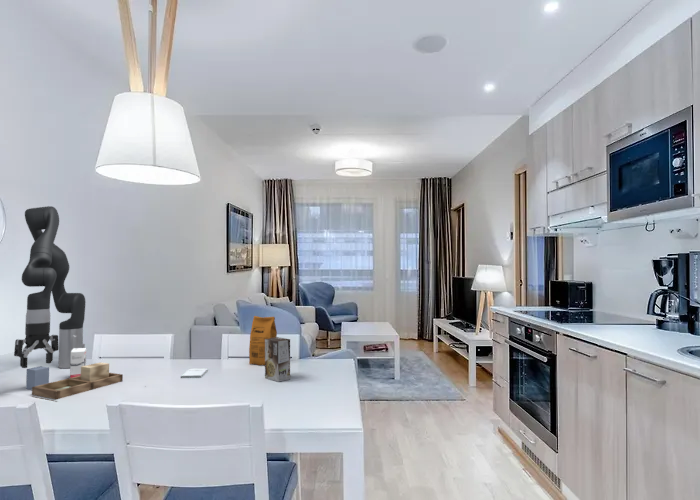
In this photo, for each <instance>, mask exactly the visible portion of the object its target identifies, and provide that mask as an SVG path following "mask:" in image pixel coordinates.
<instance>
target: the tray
mask: <svg viewBox="0 0 700 500" xmlns="http://www.w3.org/2000/svg"><path fill="white" fill-rule="evenodd" d="M123 376H124V375H123V374H121V373H115V372H109V377H108V378H104V379H100V380H96V381H92V382H90V381H84V380H81V376H77V377H72V378H70V377H68V378H65V379H61V380H55V381H51V382H49V383H47V384H43V385H39V386H35V387H32V390H31V395H32V396H31V398H36V399H41V400H47V401H50V402H51V401H52V402H56V403H57V402H58V400H59V399H63V398H67V397H71V396H74V395H78V394H82V393H85V392H89V391H93V390H96V389H100V388H103V387H107V386H110V385H114V384H117V383H122V382H123V378H124V377H123ZM52 399H54V400H52Z"/></svg>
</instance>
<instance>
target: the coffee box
mask: <svg viewBox="0 0 700 500" xmlns="http://www.w3.org/2000/svg"><path fill="white" fill-rule="evenodd" d="M264 378H265V379H267V380H270V381H275V382H277V383H279V382H283V381H287V380H290V379H291V339H289V338H285V337H278V336H277V337H274V338H269V339H265V365H264Z"/></svg>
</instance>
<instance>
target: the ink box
mask: <svg viewBox="0 0 700 500" xmlns="http://www.w3.org/2000/svg"><path fill="white" fill-rule="evenodd" d="M86 365H87V347H85V348H73V349H72V351H71V356H70V368H69V369H70V370H69V371H70V373H69V374H70V375H69V378H72V377H77V376H81V367H82V366H86Z"/></svg>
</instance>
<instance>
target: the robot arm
mask: <svg viewBox="0 0 700 500" xmlns="http://www.w3.org/2000/svg"><path fill="white" fill-rule="evenodd" d="M24 220H25V222H26V225H27V227H28V230H29V231H30V234H31V236H32V238H33V240H34V242H33V243H32V245H31V248H30V250H29V251H30V253H29V259H28V263H27V265H26V267H25V268H24V270H23V272H22V274H21V282H22V283H23V285H24V286H25V287H31V288H35V287H44V289H43V290H41V291H38V292H33V293H30V294H28V295H27V296H26V297H27V299H26V314H25V332H24V334H25V337H24V339H19V338H18V339H16V340H15V342H14V353H13V356H14V357H17V358H20V359H19V361H20V363H19V366H20V367H21V368H22V369H28V356H29V354H30V353H32V351H33V350H35V351H36V350H39V349H40V350H41V349H43V350H44V351H45V352H46V353H45V363H46V364H51V363H52V362H53V360H54V359H53V357H54V353H55V352H56V351H58V367H57V368H59V369H70V356H71V351H72V349H73V348H86V344H85V343H83V342H84V341H83V340H84V335H83V334H84V323H85V316H86V315H85V313H86V296H85V295H84V294H83V293H82V292H67V291H66V289H65V281H66V279H67V276H68V274H69V272H70V263H69V261H68V257H67V255H66V252H65V251H64V250H63V249H62V248H61V247H59V246H58V245H56V244H55V243H54V242H55V240H56V238H57V237H56V236H57V234H58V230H59V225H60V215H59V212H58V210H57V209H56V207H54V206H49V205H48V206H42V207H41V206H40V207H31V208H28V209H27V208H26V210H25V211H24ZM42 230H43V231H42ZM51 296H52V297H53V298H52V299H53V303H54V307H55V309H56V310H57V312H58V313H61V314H70V318H68V319H66V320H63V321H61V322H60V323H59V324H58V329H59V330H58V334H59V335H58V334H52V335H51V334H50V333H51V310H50V308H51ZM49 342H50V343H51V344H49ZM24 345H25V346H24ZM23 346H24V347H23Z"/></svg>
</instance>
